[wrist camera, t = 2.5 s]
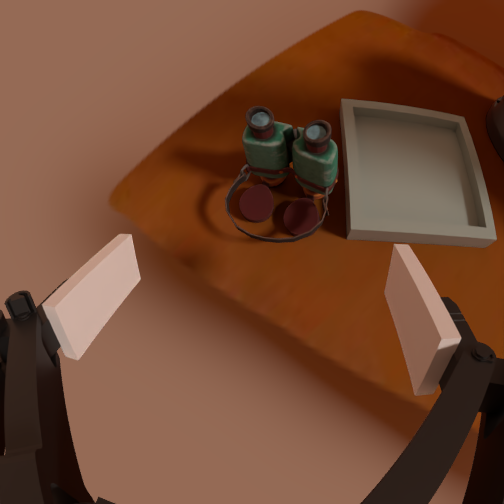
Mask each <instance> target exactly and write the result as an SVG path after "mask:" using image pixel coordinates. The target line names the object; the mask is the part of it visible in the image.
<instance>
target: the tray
mask: <svg viewBox="0 0 504 504" xmlns="http://www.w3.org/2000/svg"><path fill="white" fill-rule="evenodd" d="M339 114H340V124H341V135H342V148H343V161H344V178H345V199H346V236H347V239H351V240H369V241H387V242H404V243H421V244H437V245H452V246H466V247H481V248H486V247H487V246H488V245H490V244H491V243H493V242H494V241H496V240H497V238H496V232H495V226H494V221H493V215H492V211H491V206H490V201H489V197H488V193H487V189H486V185H485V181H484V177H483V173H482V170H481V166H480V163H479V159H478V156H477V153H476V150H475V146H474V143H473V140H472V137H471V135H470V132H469V129H468V126H467V123H466V121H465V118H464V117H462V116H457V115H453V114H448V113H443V112H438V111H433V110H428V109H422V108H416V107H410V106H404V105H397V104H389V103H382V102H373V101H363V100H353V99H341V104H340V112H339Z"/></svg>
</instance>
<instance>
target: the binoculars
mask: <svg viewBox="0 0 504 504" xmlns="http://www.w3.org/2000/svg"><path fill="white" fill-rule="evenodd" d="M245 118H246V121H247V124H248V125H247V126H246V128H245V130H244V132H243V136H242V142H243V146H244V150H245V154H246V165H244V167H243V168H242V169H241V170H240V174H239V176H238V177H237V178H236V179H235V180H234V182H233V185H232V186H231V187H230V189H229V191H228V193H227V195H226V198H225V206H226V212H227V213H228V215H229V216H230V218H231V220H232V221H233V223H234V225H235V226H236V227H237V229H238V230H240V231H241V232H243V233H245V234H246V235H248V236H250V237H251V238H255V239H258V240H262V241H267V242H276V243H282V242H294V241H297V240H299V239H302V238H304V237H308V236H310V235H312V234H313V233H314V232H315V231H316V230H317V229H318V228H319V227H320V226H321V225H322V223H323V220H324V218H325V215H327V216H329V212H328V208H327V203H328V194H329V193H331V192H332V190H333V188H334V186H335V183H337V178H338V172H339V169H338V167H337V164H338V149H337V145H336V143H335V142H334V141H333V140H331V131H332V129H331V126H330V124H329V123H328V122H326V121H324V120H315V121H312V122H310V123H308V124H307V125H306V126H305V128H301V127H297V129H294V130H293V127H292V125H289V124H285V123H281V122H275V121H274V115H273V113H272V112H271V111H270V110H269V109H268V108H266V107H263V106H254V107H252V108H250V109H249V110H248V111H247V112H246V117H245ZM292 161H293V169H294V170H293V169H292V168H290V166H289V163H291V162H292ZM245 168H246V170H247V172H248V174H247V176H246V174H245V172H244V171H243V170H244V169H245ZM251 172H252V173H253V174H254V175H257V176H260V178H261V180H262V182H263V183H262V185H261V184H259V185H255V186H252V187H250V188H249V189H247V190H246V191H245V192H244V193H243V194H242V196H241V198H240V201H239V206H240V210H241V212H242V214H243V216H244V217H245V218H246V219H247V220H249V221H251V222H254V223H259V222H263V221H265V220H267V219H268V218H269V217H270V216H271V214H272V212H273V208H274V202H273V196H272V193H271V191H270V190H269V186H270V187H273V186H277V185H279V184H280V183H282V182H283V181H284V180H285V178H286V176H287V175H288V174H289V173H292V174H293V175H294V177H295V179H296V181H297V182H298V183H299V184H300V185H301V186H303V191H304V194H305V195H306V196H307V198H300V199H298V200H295V201H294V202H293V203H291V204H290V205H289V206H288V208H287V209H286V211H285V213H284V224H285V226H286V228H287V229H288V230H289V231H290V233H291V234H293V235H294V236H295V237H291V238H269V237H262V236H258V235H254V234H250V233H249V232H247V231H245V230H244V229H242V228H240V227H239V226H237V225H236V223H235V222H234V220H233V218H232V217H231V215H230V211H229V201H230V199H231V197H232V194H233V193H234V192H235V190H236V189H237V188H238V186H239V185H240V184H241V183H243V182H244V181H247V179H248V177H249V175H250V173H251ZM322 197H323V210H324V214H323V217H322V220H321V221H320V218H319V213H318V210H317V208H316V206H315V204H314V200H315V199H320V198H322Z"/></svg>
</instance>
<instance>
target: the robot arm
mask: <svg viewBox="0 0 504 504" xmlns="http://www.w3.org/2000/svg"><path fill="white" fill-rule="evenodd" d="M486 125H487V130H488V133H489V136H490V138H491V141H492V143H493V145H494V147H495V148H496V150H497V152H498V153H499V155H500V156H501V158H502V159H503V161H504V96H503V97H500V98H498V99H497V100H496V101H495V102H494V103H493V105H492V106H491V108H490V109H489V111H488V113H487V116H486ZM140 279H141V278H140V274H139V269H138V265H137V260H136V255H135V251H134V246H133V241H132V235H131V234H119V235H118V236H116V237H115V238H114V239H113V240H112V241H111V242H109V243H108V244H107V245H106V246H105V247H104V248H103V249H101V250H100V251H99V252H98V253H97V254H96V255H95V256H93V257H92V258H91V259H90V260H89V261H88V262H87V263H85V264H84V265H83V266H82V267H81V268H80V269H79V270H78V271H77V272H75V273H74V274H73V275H72V276H71V277H70V278H69V279H67V280H65V281H64V282H63V283H62V284H61V285H59V286H58V287H57V289H55V290H54V291H53V292H52V294H50V295H49V296H48V297H47V298H46V299H45V300H44V301H43V302H42V303H41V304H40V305H39V306H38V307H37V308H36V306H35V304H34V302H33V299H32V297H31V294H30V292H28V291H19V292H16V293H14V294H13V295H11V296H10V297H9V298H8V299H7V300H6V301H5V305H6V308H7V310H8V312H9V314H10V316H11V319H5V317H4V314H3V312H2V311H1V310H0V504H115V503H112V502H110V501H107V500H105V499H103V498H100V497H98V499H97V501H96V503H95V502H94V500H93V499H92V497H91V496H90V494H89V493H88V491H87V490H86V488H85V485H84V483H83V479H82V476H81V472H80V469H79V465H78V461H77V457H76V453H75V449H74V445H73V441H72V436H71V431H70V426H69V421H68V416H67V410H66V405H65V398H64V392H63V385H62V377H61V368H60V358H59V356H58V353H57V350H58V349H59V348H60V346H61V348H62V350H63V352H64V354H65V356H66V357H69V358H72V359H75V360H79V359H80V357H81V356H82V355H83V354H84V352H85V351H86V349H87V348H88V347H89V345H90V344H91V343H92V341H93V340H94V338H95V337H96V335H98V333H99V332H100V331H101V329H102V328H103V327H104V325H105V324H106V323H107V321H108V320H109V319H110V318H111V316H112V315H113V314H114V312H115V311H116V310H117V309H118V307H119V306H120V305H121V303H122V302H123V301H124V300H125V298H126V297H127V296H128V294H129V293H130V292H131V291H132V290H133V288H134V287H135V286H136V285H137V283H138V282H139V281H140ZM384 293H385V296H386V299H387V302H388V305H389V308H390V311H391V314H392V317H393V320H394V323H395V326H396V330H397V333H398V336H399V339H400V343H401V346H402V349H403V353H404V356H405V360H406V363H407V367H408V370H409V374H410V378H411V382H412V386H413V390H414V394H415V395H426V394H433V393H434V391H435V390H436V388H437V386H438V384H440V387H441V390H442V392H441V394H440V396H439V397H438V399H437V401H436V402H435V404H434V406H433V407H432V409H431V411H430V412H429V414H428V416H427V417H426V419H425V421H424V422H423V424H422V425H421V427H420V428H419V430H418V431H417V433H416V434H415V436H414V437H413V438H412V440H411V442H410V443H409V444H408V446H407V447H406V448H405V450H404V451H403V453H402V454H401V455H400V456H399V458H398V459H397V461H396V462H395V463H394V464H393V466H392V467H391V468H390V470H389V471H388V472H387V473H386V475H385V476H384V477H383V478H382V479H381V481H380V482H379V483H378V484H377V485H376V487H375V488H374V489H373V490H372V491H371V492H370V493H369V495H368V496H367V497H366V498H365V499H364V500H363V502H361V503H360V504H428V503H429V502H430V500H431V499H432V497H433V496H434V494H435V492H436V491H437V489H438V488H439V486H440V485H441V483H442V481H443V480H444V478H445V476H446V474H447V473H448V471H449V469H450V468H451V466H452V464H453V462H454V460H455V458H456V456H457V454H458V453H459V451H460V449H461V447H462V445H463V443H464V441H465V439H466V437H467V435H468V433H469V431H470V428H471V426H472V424H473V422H474V420H475V417H476V415H477V413H478V412H482V414H481V421H480V428H479V434H478V440H477V446H476V451H475V456H474V461H473V465H472V469H471V474H470V477H469V481H468V485H467V489H466V492H465V496H464V499H463V502H462V504H504V359H500V358H496V355H495V353H494V351H493V350H492V349H491V348H490V347H489V346H487V345H486V344H483V343H480V342H477V340H476V338H475V336H474V335H473V333H472V331H471V329H470V327H469V325H468V324H467V322H466V321H465V318H464V316H463V315H462V314H461V311H460V309H459V308H458V306H457V304H455V303H454V302H453V301H452V300H451V299H450V298H449V297H440V296H439V294H438V293H437V291H436V289H435V287H434V286H433V284H432V282H431V280H430V279H429V277H428V275H427V274H426V272H425V270H424V269H423V267H422V265H421V264H420V262H419V261H418V259H417V257H416V256H415V254H414V253H413V251H412V249H411V248H410V246H409V245H403V244H394V247H393V253H392V258H391V263H390V268H389V273H388V278H387V283H386V288H385V292H384ZM5 449H6V452H5ZM4 452H5V455H4Z"/></svg>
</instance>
